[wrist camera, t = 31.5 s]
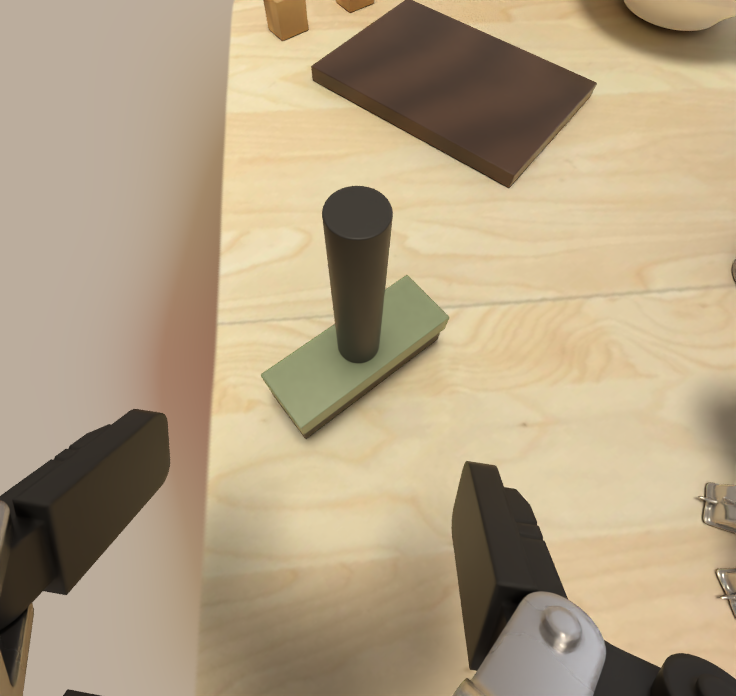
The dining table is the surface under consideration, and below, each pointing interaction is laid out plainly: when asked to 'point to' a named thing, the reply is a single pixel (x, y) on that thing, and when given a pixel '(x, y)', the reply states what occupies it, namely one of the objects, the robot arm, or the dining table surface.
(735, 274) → the container
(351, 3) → the crumb
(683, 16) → the bowl
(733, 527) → the robot toy
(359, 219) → the brush
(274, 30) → the crumb
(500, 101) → the tray
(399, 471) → the dining table surface
